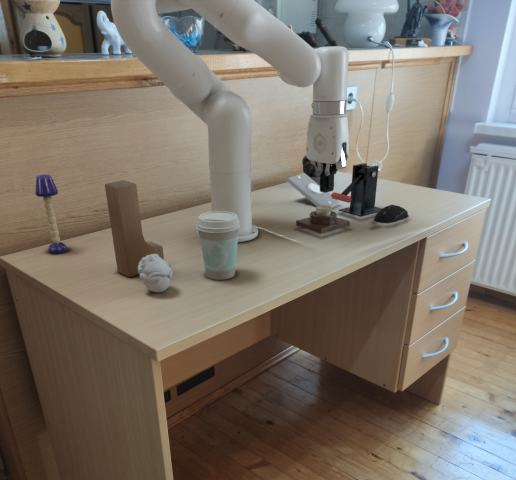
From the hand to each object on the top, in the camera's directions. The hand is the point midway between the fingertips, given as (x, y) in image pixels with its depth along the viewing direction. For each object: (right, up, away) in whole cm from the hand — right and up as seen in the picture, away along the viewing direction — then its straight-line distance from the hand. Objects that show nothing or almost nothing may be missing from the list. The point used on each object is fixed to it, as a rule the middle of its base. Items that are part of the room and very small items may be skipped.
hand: (326, 191), depth 129 cm
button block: (0, -8, +5) cm, 10 cm away
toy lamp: (-62, -16, -7) cm, 65 cm away
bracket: (+12, -1, +16) cm, 20 cm away
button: (-1, -5, +3) cm, 6 cm away
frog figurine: (-36, -27, -28) cm, 53 cm away
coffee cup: (-24, -23, -21) cm, 40 cm away
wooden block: (-41, -22, -18) cm, 50 cm away
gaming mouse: (+17, -6, +10) cm, 20 cm away
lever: (+9, +4, +11) cm, 15 cm away
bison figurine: (+3, +15, +46) cm, 48 cm away
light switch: (-1, +3, +25) cm, 25 cm away
